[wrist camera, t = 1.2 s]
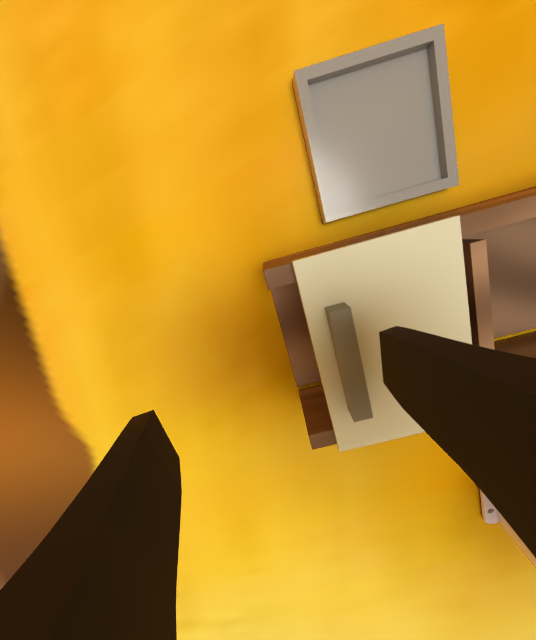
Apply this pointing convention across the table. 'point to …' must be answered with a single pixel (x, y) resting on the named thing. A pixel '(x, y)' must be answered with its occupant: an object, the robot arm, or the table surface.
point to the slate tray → (379, 124)
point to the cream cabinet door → (379, 319)
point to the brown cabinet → (481, 280)
